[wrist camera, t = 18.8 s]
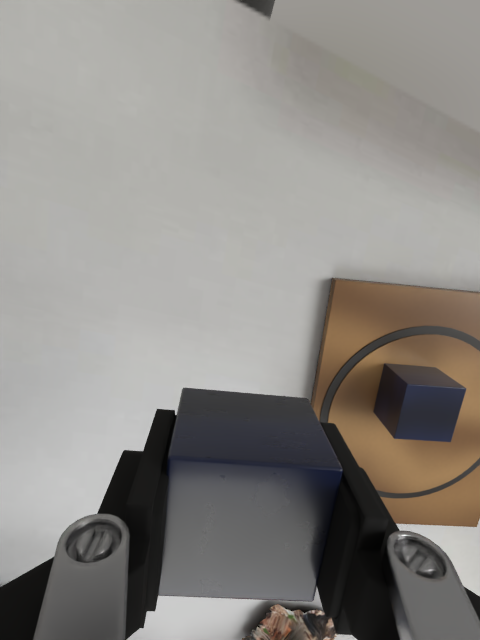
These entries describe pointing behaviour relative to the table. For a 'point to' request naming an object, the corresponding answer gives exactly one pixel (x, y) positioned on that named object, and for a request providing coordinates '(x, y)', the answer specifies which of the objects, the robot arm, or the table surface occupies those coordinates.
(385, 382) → the dark blue cube
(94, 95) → the table surface
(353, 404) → the board
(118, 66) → the table surface
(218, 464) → the dark blue block
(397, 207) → the table surface
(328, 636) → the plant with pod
